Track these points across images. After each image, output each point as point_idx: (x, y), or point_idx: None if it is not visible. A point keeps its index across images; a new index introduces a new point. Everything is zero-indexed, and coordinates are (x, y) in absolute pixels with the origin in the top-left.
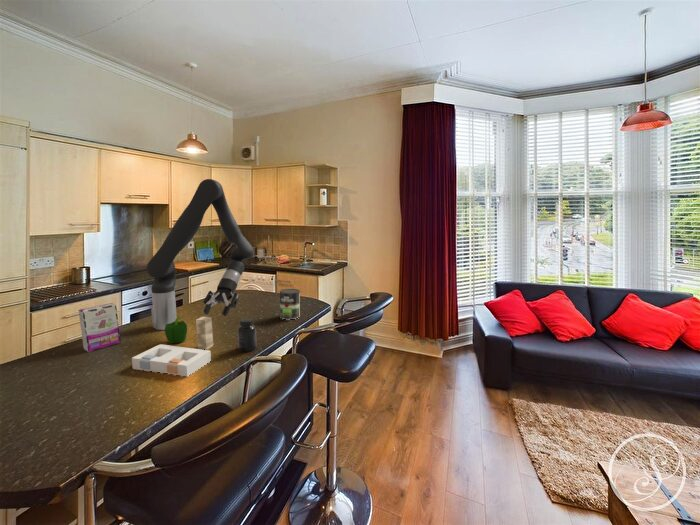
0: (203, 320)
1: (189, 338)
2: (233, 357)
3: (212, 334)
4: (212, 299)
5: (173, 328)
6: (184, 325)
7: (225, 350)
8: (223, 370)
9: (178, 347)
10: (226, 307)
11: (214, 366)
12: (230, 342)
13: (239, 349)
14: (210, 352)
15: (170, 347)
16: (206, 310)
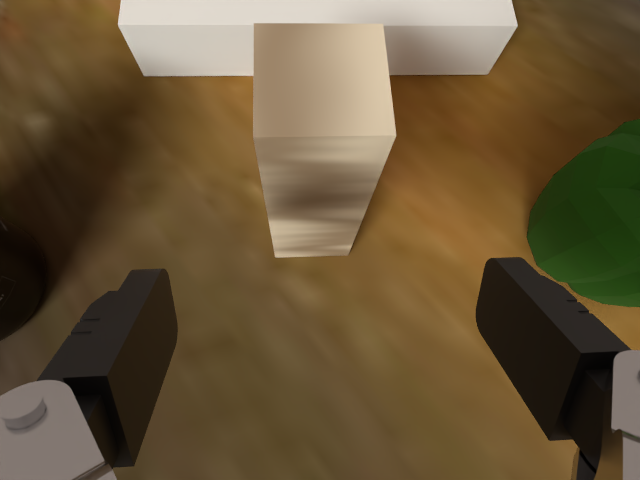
0: (274, 23)
1: None
2: (30, 145)
3: (269, 224)
4: (635, 461)
5: (631, 138)
6: (601, 204)
7: (140, 217)
8: (15, 14)
9: (360, 15)
10: (76, 374)
11: (88, 35)
12: (183, 353)
13: (23, 230)
14: (123, 33)
15: (410, 6)
16: (506, 285)
